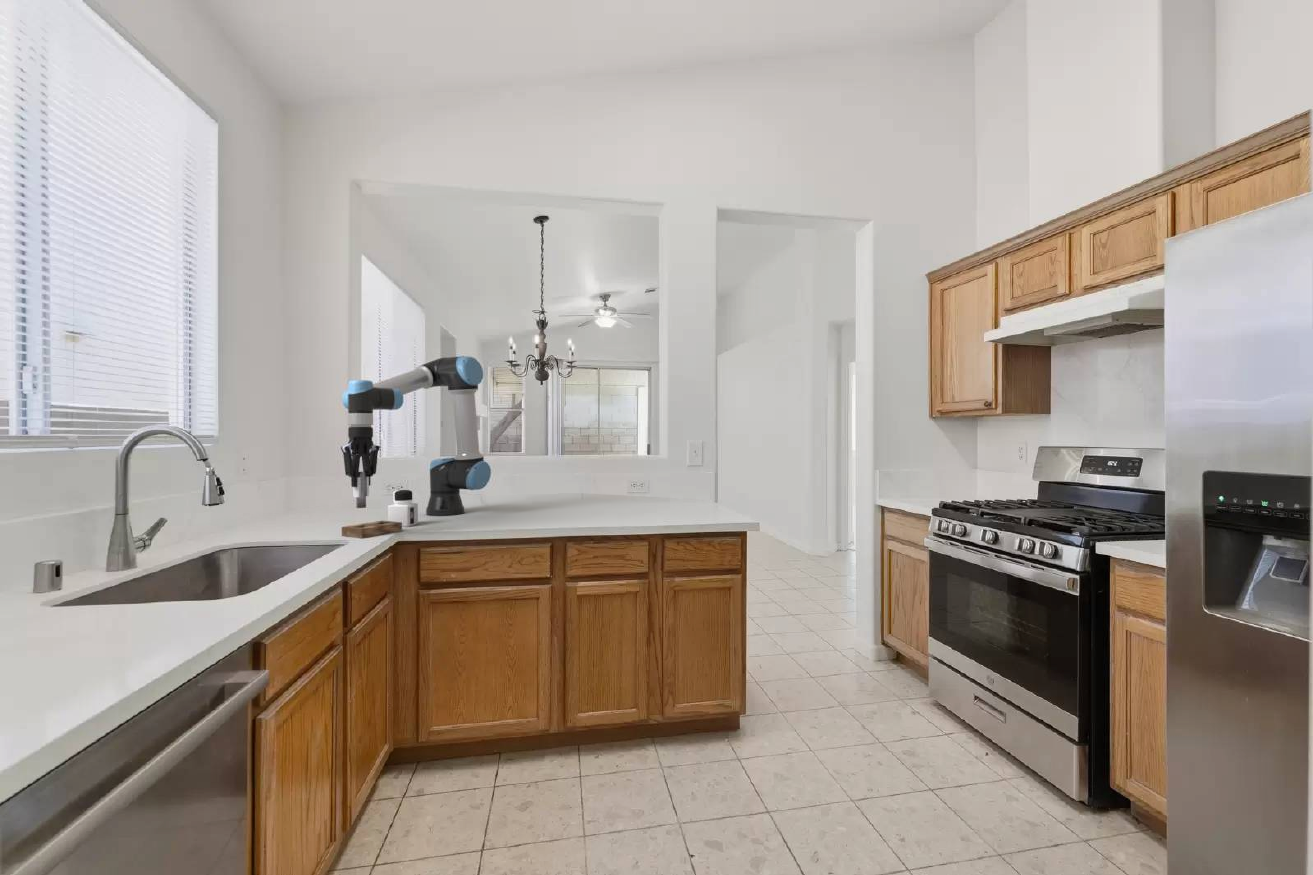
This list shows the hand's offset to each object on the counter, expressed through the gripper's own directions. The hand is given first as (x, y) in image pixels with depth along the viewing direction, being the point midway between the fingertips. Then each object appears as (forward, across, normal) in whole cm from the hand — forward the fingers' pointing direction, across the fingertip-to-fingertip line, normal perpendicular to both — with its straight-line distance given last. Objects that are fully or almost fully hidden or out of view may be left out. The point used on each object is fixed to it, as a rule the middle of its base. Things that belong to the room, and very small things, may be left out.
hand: (361, 496), depth 210 cm
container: (+13, -21, -5) cm, 26 cm away
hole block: (+13, -4, 0) cm, 14 cm away
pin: (+4, 0, 0) cm, 4 cm away
